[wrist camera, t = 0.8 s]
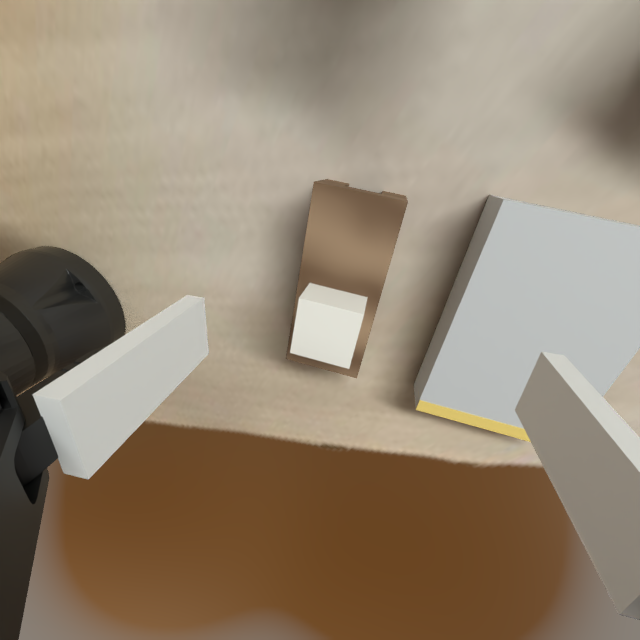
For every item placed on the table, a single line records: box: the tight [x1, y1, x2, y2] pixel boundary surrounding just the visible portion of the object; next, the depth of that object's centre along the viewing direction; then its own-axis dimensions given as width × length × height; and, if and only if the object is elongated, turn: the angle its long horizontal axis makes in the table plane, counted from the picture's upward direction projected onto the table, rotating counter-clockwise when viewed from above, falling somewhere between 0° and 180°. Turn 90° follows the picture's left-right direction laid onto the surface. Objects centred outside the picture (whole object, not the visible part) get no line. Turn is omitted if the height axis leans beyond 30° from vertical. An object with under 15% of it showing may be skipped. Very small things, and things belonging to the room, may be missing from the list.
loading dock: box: [414, 195, 640, 442], centre depth 28 cm, size 14×20×4 cm
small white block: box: [290, 283, 368, 369], centre depth 27 cm, size 5×5×4 cm
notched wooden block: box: [286, 179, 408, 378], centre depth 30 cm, size 16×7×6 cm, turn 170°
